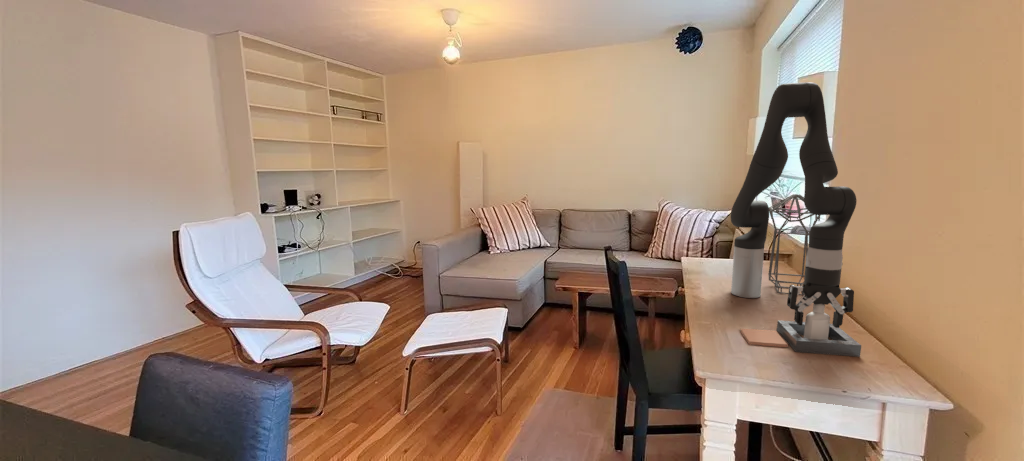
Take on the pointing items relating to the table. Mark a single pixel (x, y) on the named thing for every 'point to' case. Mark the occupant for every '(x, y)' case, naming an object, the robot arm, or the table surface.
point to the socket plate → (818, 340)
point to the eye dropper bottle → (817, 323)
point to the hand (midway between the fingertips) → (817, 325)
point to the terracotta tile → (763, 337)
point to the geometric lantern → (788, 233)
